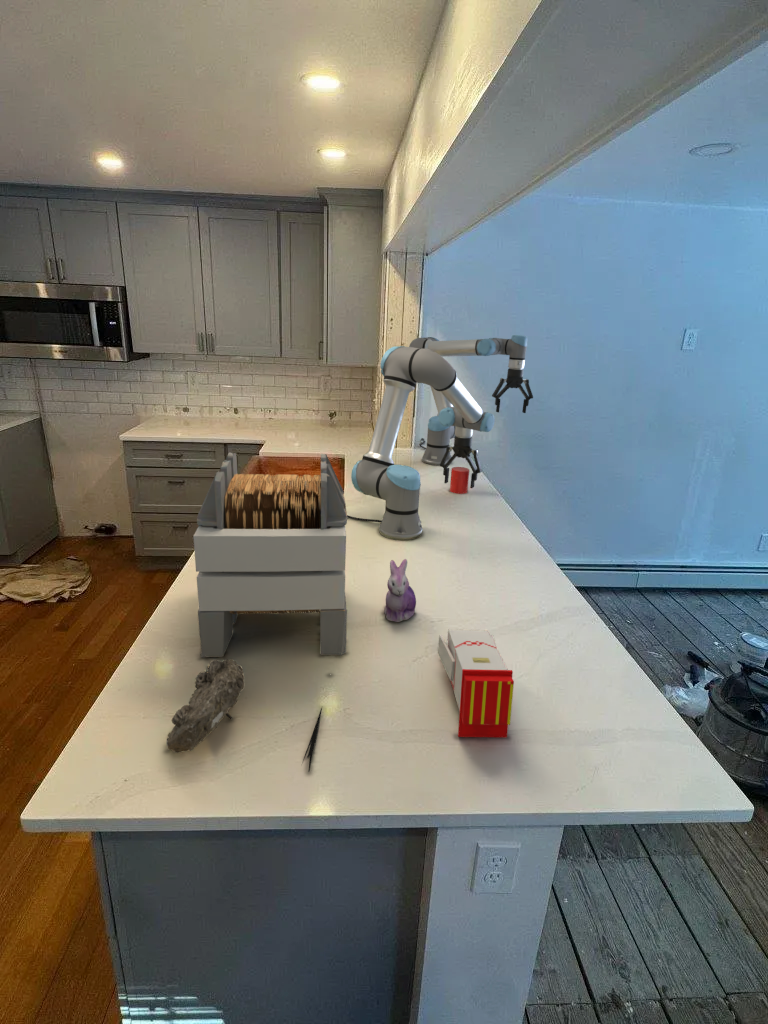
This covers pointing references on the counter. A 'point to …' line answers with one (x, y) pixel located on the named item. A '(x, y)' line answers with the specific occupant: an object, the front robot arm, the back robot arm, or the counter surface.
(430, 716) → the counter surface
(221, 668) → the fossil
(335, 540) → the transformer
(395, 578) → the figurine
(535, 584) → the counter surface
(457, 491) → the tin
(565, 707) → the counter surface
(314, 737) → the feather
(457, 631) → the toy
